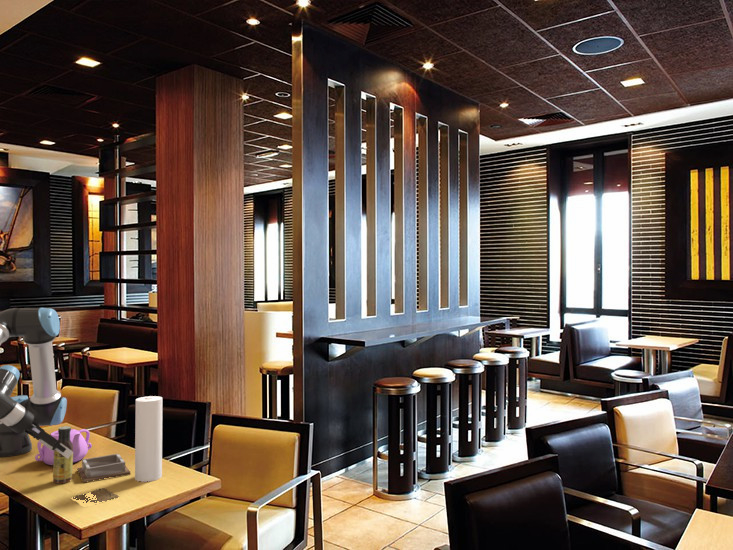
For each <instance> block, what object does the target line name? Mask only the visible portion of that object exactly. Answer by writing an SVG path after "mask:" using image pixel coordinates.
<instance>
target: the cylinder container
mask: <svg viewBox="0 0 733 550" xmlns="http://www.w3.org/2000/svg"><path fill="white" fill-rule="evenodd" d="M134 431H135V432H134V433H135V437H134V438H135V439H134V441H135V442H134V451H135V452H134V480H135V481H136V480H137V482H139V481H141V483H145V482H147V481H148V483H149V482H153V481H157V480H159V479H161V478H162V477H163V397H162V396H159V395H158V396H156V395H154V396H153V395H149V396H141V397H138V398H136V399H135V429H134Z"/></svg>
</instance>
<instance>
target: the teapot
mask: <svg viewBox="0 0 733 550" xmlns="http://www.w3.org/2000/svg"><path fill="white" fill-rule="evenodd" d="M82 433H86V436H85V437H84V436H83V434H82ZM49 435H51V436H52V437H54V438H55V439H57V440H58V438H59V432H58V430H55V431H53V432H51V433H49ZM90 437H91V433H90V430H88V429H85V428H83V429H82V428H81V429H79V430H77V429H74V428H71V431H70V441H71V442H72V444H73V464H74V463H77V462H79V461H82V459H85V458H84V457H86V455H87V454H88V451H89V450H90V449H92V446H93V445H92V443H91V442H89V440H90ZM36 444H37V451H38V453H37V454H36V455H35V457H34V460H35V461H36V462H41V461H42V462H43V463H44V464H46V465H49V466H53V463H54V451H52V450H50V449H49V448H48V447H46V446H45V445H44V444H42V443H41V442H39V440H37V443H36Z"/></svg>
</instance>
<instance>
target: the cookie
mask: <svg viewBox="0 0 733 550" xmlns="http://www.w3.org/2000/svg"><path fill="white" fill-rule="evenodd" d="M89 492H91V494H93V495H94V496H95V495H96V498H97V500H91V499H89V500H91V501H90V502H94V503H97V501H99V502H102V501H105V502H108V501H107V500H109V501H112V500H115V499H118V497H119V498H120V496H119V495H118V494H116V493H114V492H112V491H110V490H108V489H107V488H105V487H103V488H96V489H95V490H91V491H89ZM89 492H87V493H89ZM83 494H84V495H83ZM85 495H86V493H81V494H77V495H74V496H72V497H73V499H76V498H77V499H76V500H79V499H80V500H85V499H86V500H87V501H86V500H85V501H86V503H87V502H88V501H89V500H88V498H90V497H88V498H86V497H87V496H86V497H85ZM94 496H93V497H94ZM74 497H75V498H74ZM96 498H95V499H96ZM114 498H115V499H114ZM92 499H93V498H92ZM111 499H112V500H111ZM95 501H96V502H95ZM83 503H84V502H83ZM102 503H103V502H102Z"/></svg>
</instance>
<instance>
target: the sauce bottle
mask: <svg viewBox="0 0 733 550" xmlns="http://www.w3.org/2000/svg"><path fill="white" fill-rule="evenodd" d="M71 429H72V427H71V426H70V425H69V426H67V425H65V426H60V427H58V429H57V431H58V432H59V438H58V441H60V442H61V443H62V444H63V445H65V446H66V447H67V448H69V449H70V450H71V451H73V444H72V442H71V441H70V431H71ZM73 464H74V463H73V454H72V455H71V456H70V457H69V458H68V459H67V458H66V457H64V456H63V455H62V454H60V453H59V452H58V451H56V450H54V463H53V465H52V466H53V467H52V468H53V469H52V480H53V483H54V484H57V485H58V484H59V485H61V484H62V483H63V484H66V482H67V483H69V482H71V481H72V479H73ZM70 480H71V481H70ZM63 484H62V485H63Z"/></svg>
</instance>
